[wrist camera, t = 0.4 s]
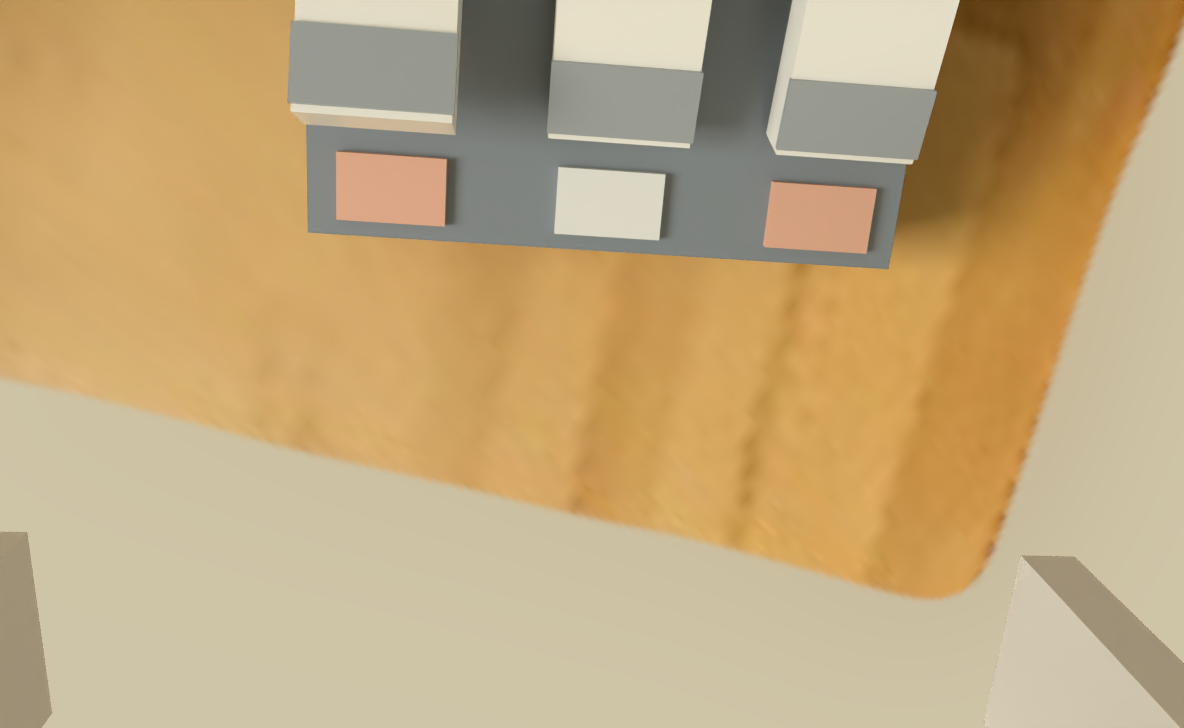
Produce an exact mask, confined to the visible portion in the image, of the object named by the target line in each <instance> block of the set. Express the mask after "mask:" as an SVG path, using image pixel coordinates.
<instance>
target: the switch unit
mask: <svg viewBox="0 0 1184 728" xmlns="http://www.w3.org/2000/svg"><path fill="white" fill-rule="evenodd" d="M791 4H792V0H712V5H711V11H710V18H709V24H708V31H707V37H706V44H705V50H704V57H703V63H702V70H701V71H703V73H704V75H703V82H702V88H701V95H700V101H699V108H698V114H697V121H696V127H695V134H694V140H693V144H690V148H677V147H663V146H649V145H635V144H621V143H607V142H593V141H580V140H566V139H552V138H548V133H547V121H548V106H549V91H550V76H551V61H552V54H553V39H554V24H555V9H556V0H463V4H462V24H461V43H460V63H459V82H458V102H457V121H456V135H448V134H434V133H420V132H406V131H392V130H378V129H364V128H350V127H336V126H322V125H308V124H306V131H307V207H308V233H324V234H340V235H355V236H371V237H387V238H402V239H418V240H434V241H451V242H467V243H483V244H498V245H514V246H530V247H546V248H561V249H577V250H592V251H608V252H624V253H640V254H657V255H673V256H688V257H704V258H720V259H736V260H752V261H767V262H783V263H798V264H814V265H830V266H846V267H863V268H878V269H889V263H890V257H891V251H892V246H893V240H894V234H895V228H896V223H897V217H898V211H899V205H900V199H901V194H902V188H903V182H904V176H905V171H906V165H907V164H899V163H885V162H871V161H857V160H843V159H830V158H816V157H802V156H788V155H776V153H775V151H774V149H773V147H772V145H771V143H770V141H769V139H768V137H767V135H766V131H767V126H768V121H769V116H770V111H771V106H772V101H773V96H774V91H775V86H776V81H777V76H778V70H779V65H780V60H781V55H782V50H783V45H784V40H785V35H786V30H787V25H788V20H789V15H790V10H791Z"/></svg>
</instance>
